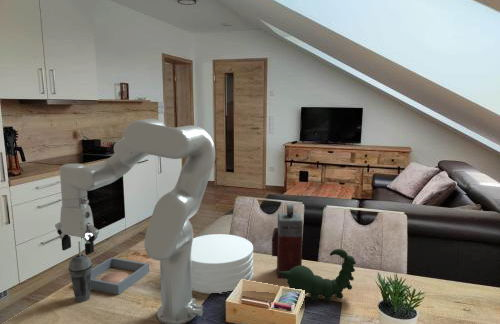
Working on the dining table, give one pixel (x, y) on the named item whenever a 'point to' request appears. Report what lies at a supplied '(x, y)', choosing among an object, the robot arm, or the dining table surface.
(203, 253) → the plate stack
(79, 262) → the beverage cup
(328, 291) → the toy figurine
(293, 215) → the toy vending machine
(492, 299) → the dining table surface
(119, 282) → the grey square frame
